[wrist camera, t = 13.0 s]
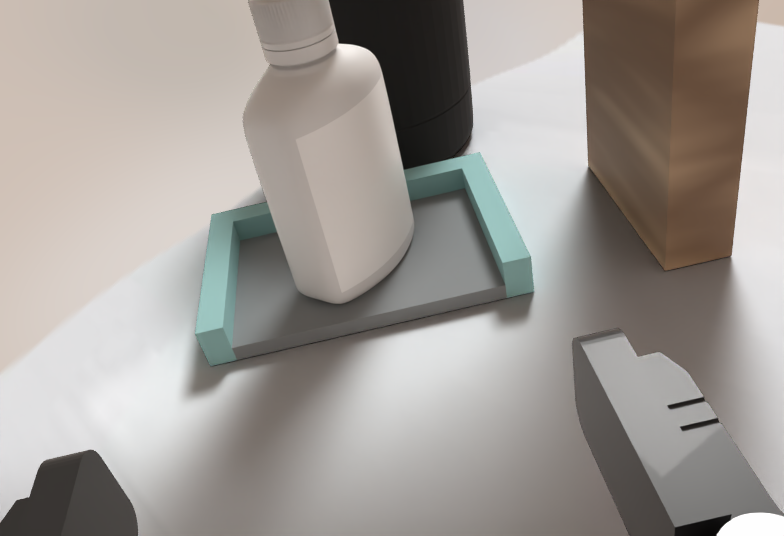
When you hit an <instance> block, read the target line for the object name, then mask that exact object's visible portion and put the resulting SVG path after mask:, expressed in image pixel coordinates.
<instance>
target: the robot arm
mask: <svg viewBox="0 0 784 536" xmlns="http://www.w3.org/2000/svg"><path fill="white" fill-rule="evenodd" d="M572 349H573V366H574V383H575V400H576V407H577V412H578V416H579V420H580V424H581V427H582V430H583V433H584V435H585V438H586V440H587V442H588V444H589V447H590V449H591V451H592V453H593V455H594V458H595V460H596V462H597V464H598V467H599V469H600V471H601V473H602V475H603V478H604V480H605V482H606V484H607V486H608V489H609V491H610V493H611V495H612V498H613V500H614V502H615V504H616V506H617V509H618V511H619V513H620V515H621V518H622V520H623V522H624V524H625V526H626V529H627V531H628V533H629V535H630V536H784V513H783V512H782V511H781V510H780V509H779V508H778V507H777V506H776V504H775V503H774V502H773V500H772V499H771V497H770V496H769V494H768V493H767V491H766V490H765V488H764V487H763V485H762V484H761V482H760V481H759V479H758V478H757V476H756V475H755V473H754V472H753V470H752V469H751V467H750V465H749V464H748V462H747V461H746V459H745V458H744V456H743V455H742V453H741V452H740V450H739V449H738V447H737V446H736V444H735V443H734V441H733V440H732V438H731V437H730V435H729V434H728V432H727V431H726V429H725V428H724V426H723V425H722V423H719V421H718V417H717V416H716V414H715V412H714V411H713V409H712V408H711V406H710V405H709V403H708V402H705V399H704V396H703V394H702V393H701V391H700V390H699V388H698V387H697V385H696V384H695V382H694V381H693V379H692V378H691V376H690V375H689V373H688V372H687V371H686V370H685V369H684V368H682V367H681V366H679V365H678V364H676V363H675V362H674V361H672V360H671V359H669V358H668V357H667V356H665V355H664V354H662V353H661V352H656V353H652V354H647V355H643V356H639V357H638V356H637V354H636V353H635V351H634V349H633V348H632V346H631V344H630V343H629V341H628V339H627V337H626V336H625V334H624V333H623V332H622V330H621V329H619V328H615V329H611V330H606V331H602V332H598V333H594V334H589V335H585V336H581V337H577V338H574V339H573V343H572ZM0 536H138V525H137V518H136V514H135V511H134V508H133V505H132V503H131V502H130V500H129V499H128V497H127V496H126V494H125V493H124V491H123V490H122V488H121V487H120V485H119V484H118V482H117V481H116V479H115V478H114V476H113V475H112V473H111V472H110V470H109V469H108V467H107V466H106V464H105V463H104V461H103V460H102V458H101V457H100V455H99V454H98V453H97V452H96V451H94V450H87V451H83V452H78V453H74V454H70V455H66V456H61V457H57V458H53V459H49V460H46V461H44V462H43V463H42V464H41V465H40V467H39V469H38V472H37V475H36V478H35V481H34V484H33V487H32V490H31V494H30V497H29V498H24V499H20V500H17V501H16V502H15V503H14V505H13V506H12V507H11V509H10V510H9V512H8V513H7V514H6V516H5V517H4V518H3V520H2V521H1V523H0Z"/></svg>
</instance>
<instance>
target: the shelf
mask: <svg viewBox="0 0 784 536" xmlns="http://www.w3.org/2000/svg"><path fill="white" fill-rule="evenodd" d="M758 3H759V0H583V24H584V25H583V28H584V57H585V86H586V116H587V145H588V166H589V167H590V169H591V170H592V171H593V173H594V174H595V176H596V177H597V178H598V180H599V181H600V182H601V184H602V185H603V187H604V188H605V189H606V191H607V192H608V193H609V195H610V196H611V197H612V199H613V200H614V202H615V203H616V204H617V206H618V207H619V208H620V210H621V211H622V213H623V214H624V215H625V217H626V218H627V219H628V221H629V222H630V224H631V225H632V226H633V228H634V229H635V230H636V232H637V233H638V235H639V236H640V237H641V239H642V240H643V241H644V243H645V244H646V246H647V247H648V248H649V250H650V251H651V252H652V254H653V255H654V257H655V258H656V259H657V261H658V262H659V263H660V265H661V266H662V268H663V269H664V270H665V271H667V270H672V269H676V268H680V267H685V266H689V265H693V264H698V263H702V262H706V261H711V260H715V259H719V258H724V257H728V256H731V255H732V246H733V237H734V227H735V218H736V209H737V199H738V190H739V181H740V172H741V162H742V153H743V144H744V135H745V125H746V116H747V107H748V97H749V88H750V79H751V70H752V60H753V51H754V42H755V32H756V23H757V14H758Z"/></svg>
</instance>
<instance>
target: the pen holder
mask: <svg viewBox="0 0 784 536" xmlns="http://www.w3.org/2000/svg"><path fill="white" fill-rule="evenodd" d="M329 4H330V8H331V13H332V17H333V21H334V25H335V29H336V33H337V37H338V44H350V45H356V46H360V47H363V48H365V49H367V50H369V51H370V52H372V53H373V54H374V55H375V57H376V59H377V60H378V62H379V65H380V67H381V70H382V74H383V78H384V83H385V87H386V91H387V95H388V100H389V104H390V109H391V114H392V118H393V123H394V128H395V132H396V137H397V142H398V146H399V151H400V156H401V160H402V165H403V170H406V169H410V168H414V167H419V166H423V165H427V164H431V163H436V162H440V161H444V160H448V159H450V158H451V157H452V156H454V155H455V154H456V153H457V152H458V151H459V150H460V149H461V148H462V147H463V146H464V144H465V142H466V141H467V139H468V138H469V136H470V134H471V131H472V128H473V108H472V95H471V83H470V68H469V59H468V47H467V37H466V27H465V15H464V6H463V0H329Z"/></svg>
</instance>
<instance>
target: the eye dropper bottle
mask: <svg viewBox="0 0 784 536" xmlns="http://www.w3.org/2000/svg"><path fill="white" fill-rule="evenodd" d="M248 3H249V7H250V10H251V13H252V16H253V20H254V23H255V26H256V29H257V33H258V36H259V39H260V43H261V46H262V49H263V52H264V56H265V59H266V61H267V62H268V63H270V65H269V67H268V69H267V70H266V71H265V73H264V74H263V75H262V77H261V78H260V80H259V81H258V83H257V84H256V86H255V88H254V89H253V91H252V93H251V95H250V97H249V99H248V101H247V104H246V107H245V110H244V114H243V127H244V132H245V137H246V140H247V143H248V146H249V149H250V153H251V156H252V159H253V162H254V165H255V168H256V171H257V174H258V177H259V180H260V183H261V186H262V189H263V192H264V195H265V198H266V201H267V204H268V206H269V209H270V212H271V215H272V218H273V221H274V224H275V227H276V230H277V233H278V236H279V238H280V241H281V244H282V247H283V250H284V253H285V256H286V259H287V262H288V264H289V267H290V270H291V273H292V276H293V279H294V282H295V285H296V287H297V289H298V291H299V292H301V293H302V294H303V295H305V296H308V297H311V298H315V299H318V300H322V301H325V302H329V303H333V304H343V303H346V302H349V301H351V300H353V299H355V298H357V297H358V296H360V295H362V294H363V293H365V292H366V291H368V290H369V289H371V288H372V287H374V286H375V285H376V284H378V283H379V282H380V281H381V280H383V279H384V278H385V277H386V276H387V275H388V274H389V273H390V272H391V271H392V270H393V269H394V268H395V267H396V266H397V264H398V263H399V262H400V261H401V259H402V258H403V256H404V255H405V253H406V251H407V249H408V247H409V245H410V242H411V240H412V237H413V233H414V218H413V213H412V208H411V203H410V198H409V194H408V189H407V184H406V179H405V175H404V170H403V165H402V160H401V156H400V151H399V146H398V142H397V137H396V132H395V128H394V123H393V118H392V114H391V109H390V104H389V100H388V95H387V91H386V87H385V83H384V78H383V74H382V70H381V67H380V65H379V62H378V60H377V59H376V57H375V55H374V54H373V53H372V52H370V51H369V50H367V49H365V48H363V47H360V46H356V45H350V44H338V37H337V33H336V29H335V25H334V21H333V17H332V13H331V8H330V4H329V0H248Z"/></svg>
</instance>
